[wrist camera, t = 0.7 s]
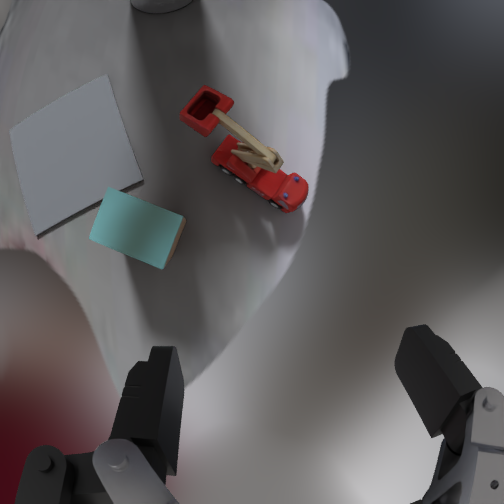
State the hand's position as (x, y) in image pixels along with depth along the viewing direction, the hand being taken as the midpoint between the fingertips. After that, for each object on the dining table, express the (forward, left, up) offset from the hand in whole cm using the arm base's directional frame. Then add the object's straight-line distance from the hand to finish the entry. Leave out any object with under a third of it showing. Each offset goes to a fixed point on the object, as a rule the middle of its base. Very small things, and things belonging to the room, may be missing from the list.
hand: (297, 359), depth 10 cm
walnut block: (-7, -5, -23) cm, 24 cm away
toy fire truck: (-9, +6, -23) cm, 25 cm away
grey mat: (-19, -11, -23) cm, 32 cm away
